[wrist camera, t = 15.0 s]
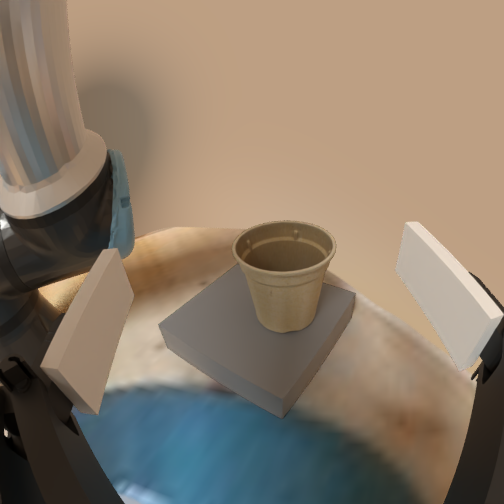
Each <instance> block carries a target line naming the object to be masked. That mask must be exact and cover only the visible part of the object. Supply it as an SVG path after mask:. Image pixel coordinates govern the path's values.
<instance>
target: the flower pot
mask: <svg viewBox="0 0 504 504" xmlns="http://www.w3.org/2000/svg"><path fill="white" fill-rule="evenodd" d="M335 252H336V242H335V239H334V237H333V236H332V235H331V234H330V233H329V232H328V231H326V230H325V229H323V228H321V227H319V226H316V225H313V224H310V223H305V222H299V221H274V222H268V223H263V224H259V225H256V226H254V227H251V228H249V229H247V230H245V231H243V232H242V233H241V234H240V235H239V236H238V237H237V238H236V239H235V240H234V242H233V245H232V253H233V256H234V258H235V260H236V261H237V262H238V263H239V265H240V267H241V270H242V271H243V272H244V274H245V276H246V279H247V283H248V286H249V290H250V293H251V296H252V300H253V303H254V307H255V310H256V315H257V318H258V320H259V322H260V323H261V324H262V325H263V326H264V327H266V328H267V329H269V330H271V331H274V332H279V333H286V332H289V331H299V330H302V329H304V328H305V327H307V326H308V325H309V324H310V323H311V322H312V321H313V319H314V317H315V313H316V308H317V304H318V300H319V296H320V291H321V287H322V283H323V279H324V274H325V271H326V269H327V268H328V266H329V263H330V260H331V259H332V258H333V256H334V254H335Z"/></svg>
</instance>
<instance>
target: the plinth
mask: <svg viewBox="0 0 504 504" xmlns="http://www.w3.org/2000/svg"><path fill="white" fill-rule="evenodd" d="M355 295H356V293H353V292H350V291H347V290H344V289H341V288H338V287H335V286H332V285H329V284H326V283H322V287H321V291H320V296H319V300H318V304H317V308H316V313H315V317H314V319H313V321H312V322H311V323H310V324H309V325H308V326H307V327H305V328H304V329H302V330H299V331H289V332H286V333H279V332H274V331H271V330H269V329H267V328H266V327H264V326H263V325H262V324H261V323H260V322H259V320H258V318H257V315H256V310H255V307H254V303H253V300H252V296H251V293H250V290H249V286H248V283H247V279H246V276H245V274H244V272H243V271H242V270H241V267H240V265H239V263H238V264H237V265H235V266H234V267H233V268H231V269H230V270H229V271H227V272H226V273H225V274H223V275H222V276H221V277H220V278H218V279H217V280H216V281H214V282H213V283H212V284H210V285H209V286H208V287H206V288H205V289H204V290H203V291H201V292H200V293H199V294H197V295H196V296H195V297H193V298H192V299H191V300H190V301H188V302H187V303H186V304H184V305H183V306H182V307H180V308H179V309H178V310H176V311H175V312H174V313H173V314H171V315H170V316H169V317H167V318H166V319H165V320H163V321H162V322H161V323H159V324H158V325H159V328H160V331H161V333H162V336H163V338H164V340H165V343H166V345H167V348H168V349H170V350H171V351H172V352H174V353H175V354H177V355H178V356H180V357H181V358H182V359H184V360H185V361H187V362H188V363H190V364H191V365H193V366H194V367H196V368H197V369H199V370H200V371H202V372H203V373H205V374H206V375H208V376H209V377H211V378H212V379H214V380H215V381H217V382H219V383H220V384H222V385H223V386H225V387H227V388H228V389H230V390H232V391H233V392H235V393H237V394H238V395H240V396H242V397H243V398H245V399H247V400H248V401H250V402H252V403H254V404H255V405H257V406H259V407H261V408H263V409H264V410H266V411H268V412H270V413H272V414H274V415H275V416H277V417H279V418H281V419H283V418H284V416H285V415H286V414H287V412H288V411H289V410H290V409H291V407H292V406H293V405H294V403H295V402H296V400H297V399H298V398H299V396H300V395H301V394H302V392H303V391H304V390H305V388H306V387H307V385H308V384H309V382H310V381H311V380H312V378H313V377H314V375H315V374H316V372H317V371H318V369H319V368H320V367H321V365H322V364H323V362H324V361H325V359H326V358H327V356H328V354H329V353H330V351H331V350H332V348H333V347H334V345H335V344H336V342H337V340H338V339H339V337H340V336H341V334H342V332H343V331H344V329H345V328H346V326H347V324H348V323H349V321H350V319H351V317H352V312H353V306H354V301H355Z"/></svg>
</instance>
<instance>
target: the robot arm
mask: <svg viewBox="0 0 504 504" xmlns="http://www.w3.org/2000/svg"><path fill="white" fill-rule="evenodd" d="M0 174H1V178H0V504H125V503H124V502H123V501H122V499H121V498H120V496H119V495H118V493H117V492H116V490H115V489H114V487H113V486H112V484H111V482H110V481H109V479H108V478H107V476H106V474H105V473H104V471H103V469H102V468H101V466H100V464H99V463H98V461H97V459H96V457H95V455H94V454H93V452H92V450H91V448H90V446H89V444H88V442H87V440H86V439H85V437H84V435H83V433H82V430H81V428H80V426H79V424H78V422H77V420H76V418H75V416H74V415H73V413H72V412H71V410H72V406H73V405H74V406H75V407H76V408H77V409H78V410H79V411H80V412H81V413H87V414H93V415H98V413H99V409H100V405H101V401H102V398H103V394H104V390H105V386H106V383H107V379H108V376H109V372H110V369H111V365H112V362H113V359H114V355H115V352H116V349H117V346H118V343H119V340H120V336H121V333H122V330H123V327H124V324H125V322H126V319H127V316H128V313H129V310H130V307H131V304H132V302H133V299H134V293H133V290H132V288H131V285H130V282H129V280H128V277H127V274H126V271H125V268H124V266H123V263H122V260H121V259H124V258H126V257H127V256H129V255H130V253H131V252H132V250H133V248H134V243H135V235H134V223H133V214H132V208H131V203H130V195H129V185H128V179H127V173H126V168H125V163H124V159H123V155H122V153H121V152H120V151H119V150H106V145H105V143H104V141H103V139H102V138H101V136H99V135H98V134H97V133H95V132H93V131H91V130H87V129H85V127H84V123H83V118H82V113H81V109H80V104H79V99H78V93H77V88H76V82H75V76H74V69H73V63H72V55H71V47H70V38H69V28H68V14H67V0H0ZM395 271H396V273H397V274H398V275H399V277H400V278H401V280H402V281H403V283H404V284H405V285H406V287H407V288H408V290H409V291H410V293H411V294H412V296H413V297H414V298H415V300H416V301H417V303H418V304H419V306H420V308H421V309H422V310H423V312H424V314H425V315H426V317H427V318H428V320H429V321H430V323H431V325H432V326H433V328H434V329H435V330H436V332H437V334H438V336H439V337H440V339H441V341H442V342H443V344H444V346H445V347H446V349H447V351H448V352H449V354H450V356H451V358H452V359H453V361H454V363H455V365H456V367H457V368H458V370H459V371H461V370H464V369H466V368H469V367H471V366H473V364H474V363H475V361H476V360H477V359H478V357H479V356H480V357H481V359H482V360H483V361H482V362H481V364H480V365H479V367H478V368H477V370H476V371H475V372H474V374H473V375H472V377H471V380H473V379H474V378H475V377H476V375H477V374H478V378H477V380H476V381H477V387H476V393H475V399H474V404H473V409H472V414H471V419H470V423H469V427H468V432H467V436H466V439H465V443H464V447H463V450H462V454H461V457H460V460H459V463H458V466H457V469H456V472H455V475H454V478H453V481H452V483H451V486H450V489H449V491H448V494H447V496H446V499H445V501H444V503H443V504H504V307H503V306H502V305H501V304H500V302H499V301H498V300H497V299H496V298H495V296H494V295H493V294H491V292H490V291H489V289H488V288H486V287H485V285H484V284H483V282H482V281H481V280H480V279H479V278H478V277H476V276H475V275H473V274H472V273H470V272H468V271H467V270H466V269H465V268H464V267H463V266H462V265H461V264H460V263H459V262H458V261H457V260H456V259H455V257H454V256H453V255H452V254H451V253H450V252H449V251H448V250H447V249H446V248H445V247H444V246H443V245H442V244H441V243H440V242H439V241H438V240H437V239H435V237H434V236H433V235H432V234H430V233H429V232H428V231H427V230H426V229H425V228H424V227H423V226H422V225H421V224H420V223H419V222H405V226H404V232H403V237H402V242H401V246H400V251H399V256H398V260H397V264H396V269H395ZM87 272H89V273H88V275H87V277H86V278H85V280H84V282H83V283H82V285H81V287H80V289H79V290H78V292H77V294H76V296H75V297H74V299H73V301H72V303H71V305H70V306H69V308H68V310H67V312H66V313H60V312H59V311H58V310H57V309H56V308H55V307H54V306H53V305H52V304H51V303H50V302H49V301H48V300H47V299H46V298H44V297H43V296H42V295H41V293H40V292H39V290H38V288H40V287H43V286H46V285H49V284H52V283H55V282H58V281H62V280H65V279H68V278H71V277H74V276H77V275H80V274H83V273H87ZM4 429H5V430H7V431H8V437H6V436H5V435H4Z"/></svg>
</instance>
